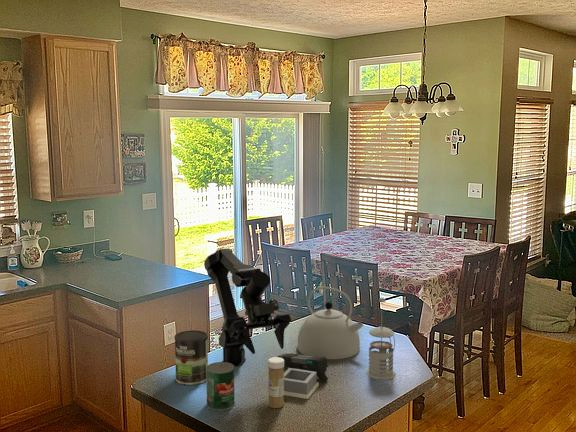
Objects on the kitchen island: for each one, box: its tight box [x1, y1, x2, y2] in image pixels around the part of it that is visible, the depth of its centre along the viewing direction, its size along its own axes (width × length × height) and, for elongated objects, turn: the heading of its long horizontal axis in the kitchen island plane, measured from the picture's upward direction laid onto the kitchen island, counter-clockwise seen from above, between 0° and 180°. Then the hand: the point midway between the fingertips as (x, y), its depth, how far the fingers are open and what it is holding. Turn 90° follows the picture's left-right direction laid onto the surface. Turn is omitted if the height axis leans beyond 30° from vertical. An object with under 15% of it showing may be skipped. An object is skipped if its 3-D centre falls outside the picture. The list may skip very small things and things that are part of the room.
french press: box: [365, 297, 397, 381], centre depth 186 cm, size 10×12×25 cm
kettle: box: [296, 286, 364, 360], centre depth 208 cm, size 25×23×22 cm
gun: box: [276, 352, 329, 384], centre depth 187 cm, size 4×20×10 cm, turn 41°
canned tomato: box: [206, 361, 236, 411], centre depth 164 cm, size 8×8×11 cm
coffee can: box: [174, 329, 209, 386], centre depth 182 cm, size 10×10×14 cm
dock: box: [284, 367, 320, 400], centre depth 174 cm, size 10×10×4 cm
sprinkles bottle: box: [267, 356, 285, 409], centre depth 163 cm, size 5×5×13 cm
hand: (268, 350), depth 170 cm, fingers open, 9 cm apart
